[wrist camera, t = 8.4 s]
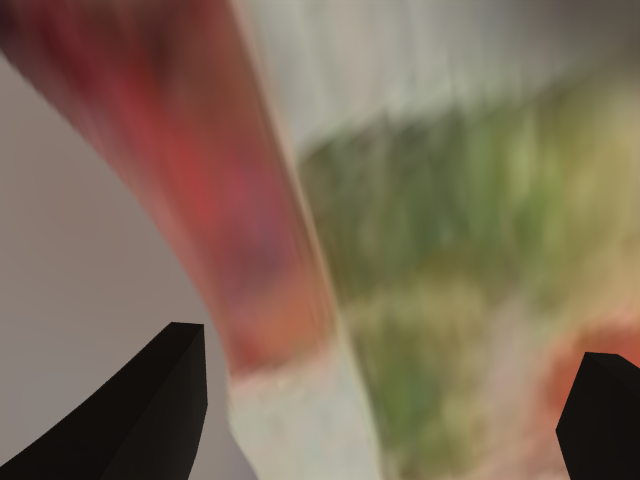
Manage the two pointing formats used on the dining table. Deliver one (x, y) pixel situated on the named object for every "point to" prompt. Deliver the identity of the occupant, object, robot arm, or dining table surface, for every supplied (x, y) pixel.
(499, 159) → the dining table surface
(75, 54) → the dining table surface
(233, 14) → the dining table surface
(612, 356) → the robot arm
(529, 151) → the dining table surface
